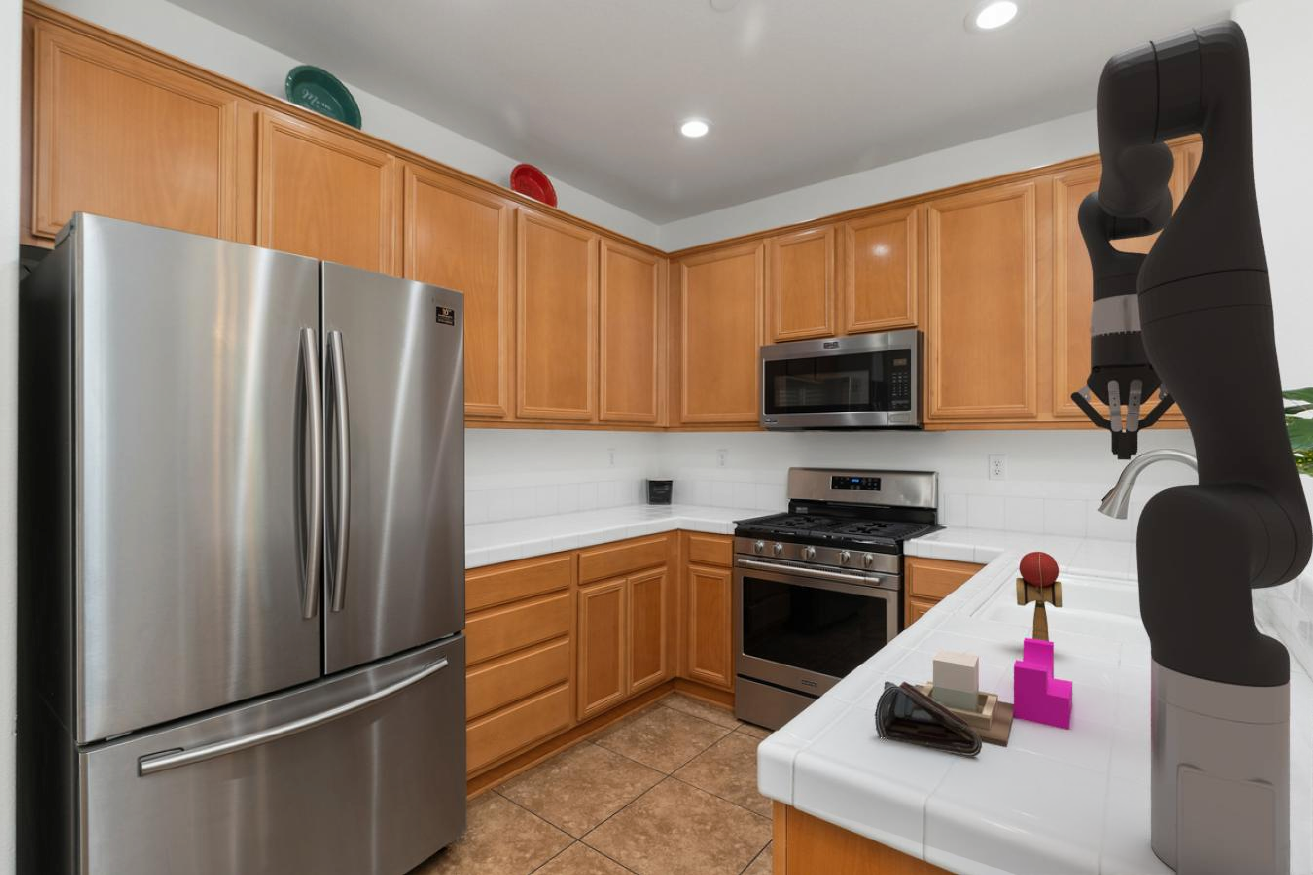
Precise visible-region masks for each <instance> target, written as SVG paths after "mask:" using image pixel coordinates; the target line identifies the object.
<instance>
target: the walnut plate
mask: <svg viewBox="0 0 1313 875" xmlns="http://www.w3.org/2000/svg"><path fill="white" fill-rule="evenodd" d="M914 686H917V687H918V688H919V690H920V691H921V692H922V693H923V694H924V695H926V696H928V697H930V698H931V699H933V681H926V684H924V685H920V684H915V685H914ZM998 697H999V696H998V694H996V693H990V692H985V691H980V690H979V708H978V711H977V713H975V712H970V711H965V710H960V709H956V708H951V707H946V706H945V707H946V708H947V709H949V710H950V711H951V712H953V713H955V714H956V715H957V716H959V717H960V718H962V719H963V720H964V721H965V722H967V724H968V725H969V727H970V728H971V729H972V730H974V731H975V732H976V733H977V734H978V735H979V737H980V739H981V741H982V743H983V742H984V743H987V744H992V745H996V746H1000V747H1004V748H1007V746H1008V743H1009V738H1010V735H1011V730H1012V726H1013V721H1014V719H1015V718H1014V703H1011V702H1007V701H1001V700H998V699H999V698H998Z"/></svg>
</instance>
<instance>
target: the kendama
mask: <svg viewBox="0 0 1313 875" xmlns="http://www.w3.org/2000/svg"><path fill="white" fill-rule="evenodd" d="M1019 572H1020V575H1021V576H1022V577H1016V578H1015V579H1016V580H1015V582H1016V584H1015V585H1016V600H1017V601H1016V603H1017V605H1018V606H1026V605H1029V603H1031V602H1034V601H1035V603H1034V609H1033V618H1032V630H1031V631H1032V634H1031V639H1037V640H1044V641H1050V636H1049V624H1048V623H1049V622H1048V616H1047V612H1046V611H1047V610H1046V605H1045V604H1046V603H1049V604H1051V605H1053V607H1055V608H1063V589H1062V587H1063V586H1062V582H1061V581H1058V578H1059V575H1060V567H1059V564H1058V562H1057V560H1056V559H1055V558H1054V557H1053V556H1051V555H1050V554H1048V553H1046V552H1042V551H1034V552H1029V553H1027V554H1026V555H1024V556H1022V558H1021V560H1020V563H1019Z"/></svg>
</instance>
